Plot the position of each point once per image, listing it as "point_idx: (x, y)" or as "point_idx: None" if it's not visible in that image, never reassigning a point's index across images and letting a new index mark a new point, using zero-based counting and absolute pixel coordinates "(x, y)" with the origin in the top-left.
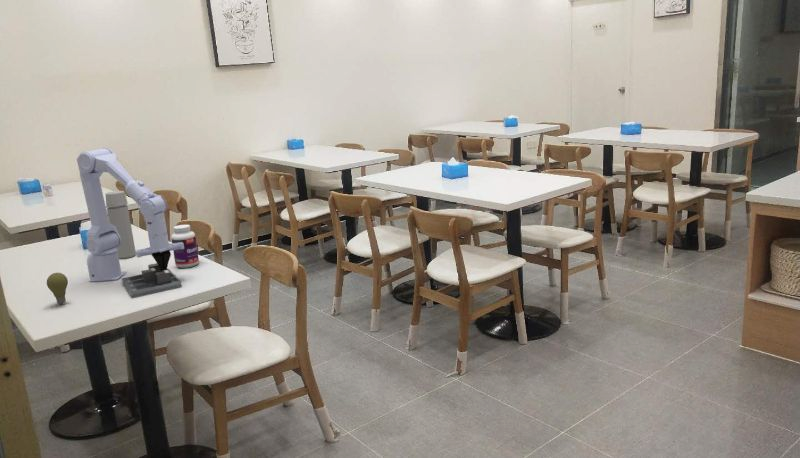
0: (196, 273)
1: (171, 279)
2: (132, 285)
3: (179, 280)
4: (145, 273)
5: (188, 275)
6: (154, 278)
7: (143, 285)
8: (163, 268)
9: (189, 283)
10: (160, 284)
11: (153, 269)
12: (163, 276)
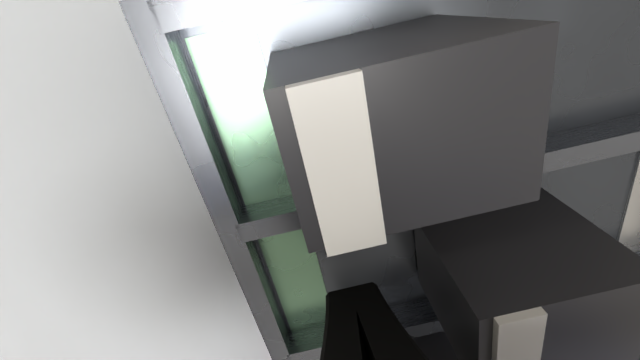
0: (84, 355)
1: (279, 205)
2: (632, 221)
3: (149, 48)
4: (628, 274)
5: (149, 335)
6: (467, 235)
7: (585, 135)
8: (377, 348)
9: (77, 103)
10: (425, 18)
11: (516, 350)
12: (402, 45)
